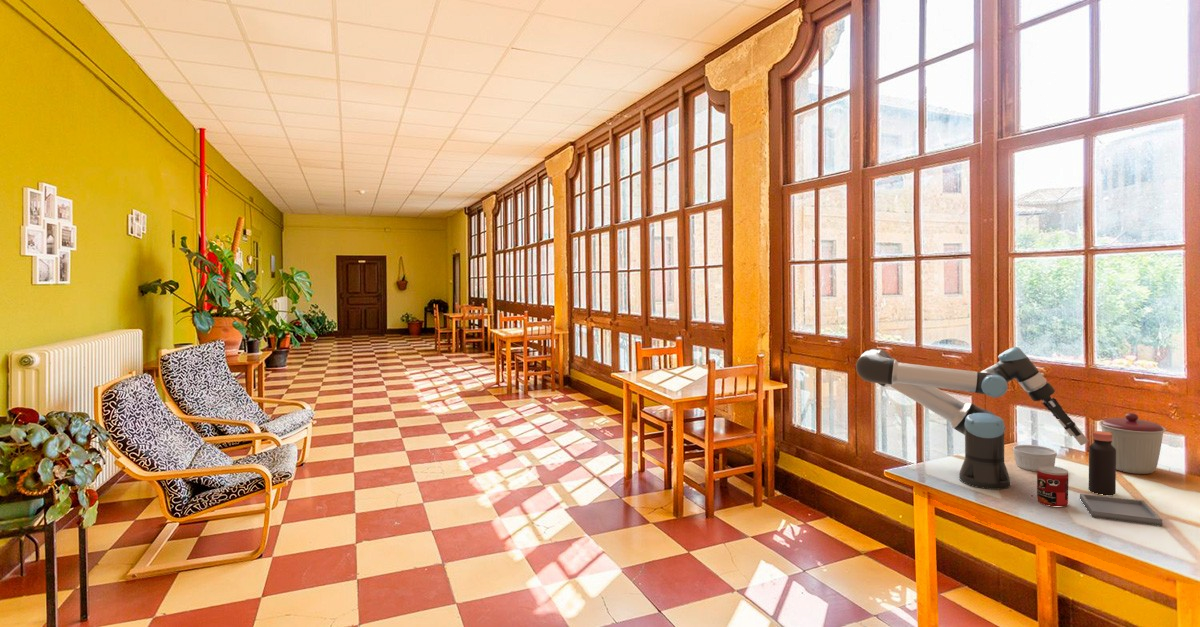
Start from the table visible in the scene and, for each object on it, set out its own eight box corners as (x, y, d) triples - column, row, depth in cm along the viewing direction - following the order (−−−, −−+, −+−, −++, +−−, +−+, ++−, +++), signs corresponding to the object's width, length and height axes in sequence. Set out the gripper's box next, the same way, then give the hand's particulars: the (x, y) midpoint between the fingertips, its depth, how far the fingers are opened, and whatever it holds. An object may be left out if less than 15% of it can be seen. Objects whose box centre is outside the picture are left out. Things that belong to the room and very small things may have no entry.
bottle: (1084, 491, 195) (1085, 432, 194) (1093, 487, 199) (1094, 429, 198) (1110, 497, 189) (1111, 436, 188) (1119, 493, 193) (1119, 433, 192)
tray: (1092, 517, 175) (1092, 510, 175) (1079, 499, 189) (1079, 493, 189) (1162, 526, 168) (1162, 519, 168) (1143, 506, 181) (1143, 500, 181)
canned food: (1030, 499, 190) (1031, 466, 190) (1053, 497, 191) (1053, 464, 190) (1051, 508, 183) (1051, 474, 182) (1074, 506, 183) (1075, 472, 183)
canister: (1154, 481, 202) (1155, 421, 201) (1089, 468, 217) (1090, 412, 216) (1173, 471, 211) (1174, 413, 210) (1110, 459, 227) (1110, 405, 225)
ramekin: (1008, 467, 221) (1008, 449, 221) (1018, 459, 230) (1018, 442, 229) (1051, 475, 211) (1051, 456, 211) (1060, 467, 220) (1060, 449, 219)
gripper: (1055, 386, 196) (1101, 441, 191) (1040, 376, 218) (1081, 425, 213) (1033, 398, 199) (1077, 452, 194) (1020, 387, 221) (1060, 435, 216)
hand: (1079, 438), depth 204 cm, fingers open, 13 cm apart
